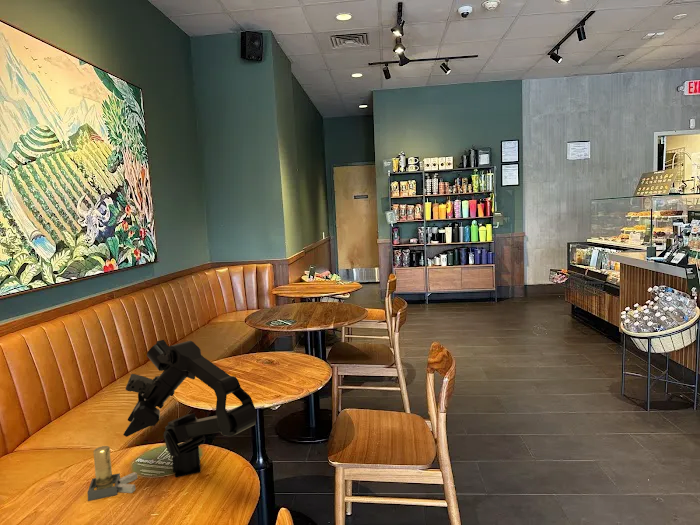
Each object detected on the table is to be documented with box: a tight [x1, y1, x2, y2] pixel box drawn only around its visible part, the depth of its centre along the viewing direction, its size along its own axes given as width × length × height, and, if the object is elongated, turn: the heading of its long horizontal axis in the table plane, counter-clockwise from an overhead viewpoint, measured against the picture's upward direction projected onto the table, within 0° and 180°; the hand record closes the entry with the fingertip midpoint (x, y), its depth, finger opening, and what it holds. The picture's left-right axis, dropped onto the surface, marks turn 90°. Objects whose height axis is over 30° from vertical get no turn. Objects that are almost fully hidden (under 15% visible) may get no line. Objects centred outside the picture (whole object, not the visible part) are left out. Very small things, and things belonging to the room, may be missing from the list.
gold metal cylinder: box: [92, 445, 114, 490], centre depth 115 cm, size 4×4×11 cm
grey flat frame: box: [87, 471, 138, 502], centre depth 116 cm, size 11×8×2 cm
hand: (126, 428), depth 120 cm, fingers open, 9 cm apart
